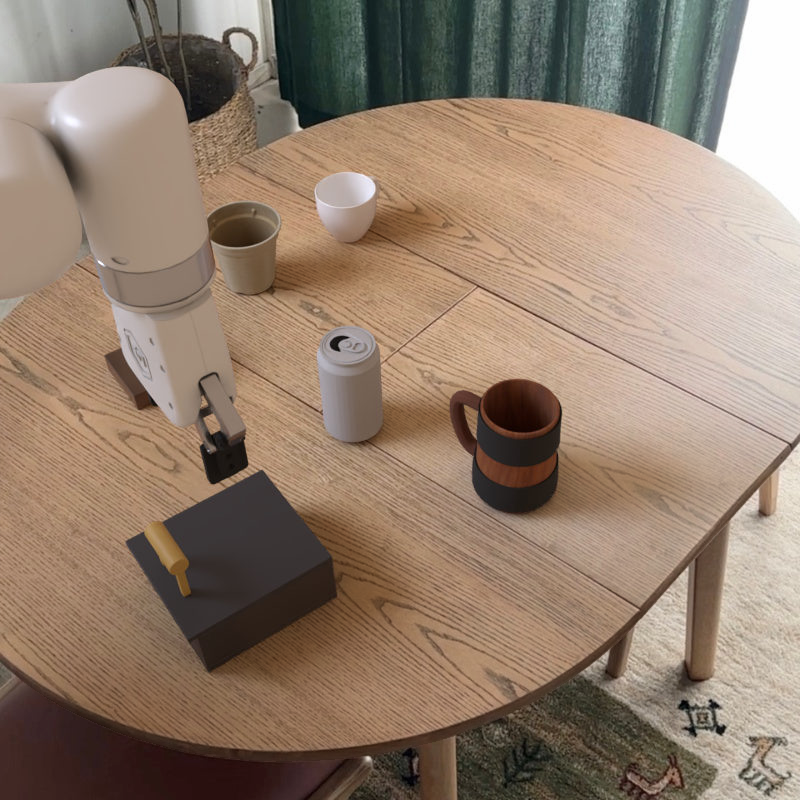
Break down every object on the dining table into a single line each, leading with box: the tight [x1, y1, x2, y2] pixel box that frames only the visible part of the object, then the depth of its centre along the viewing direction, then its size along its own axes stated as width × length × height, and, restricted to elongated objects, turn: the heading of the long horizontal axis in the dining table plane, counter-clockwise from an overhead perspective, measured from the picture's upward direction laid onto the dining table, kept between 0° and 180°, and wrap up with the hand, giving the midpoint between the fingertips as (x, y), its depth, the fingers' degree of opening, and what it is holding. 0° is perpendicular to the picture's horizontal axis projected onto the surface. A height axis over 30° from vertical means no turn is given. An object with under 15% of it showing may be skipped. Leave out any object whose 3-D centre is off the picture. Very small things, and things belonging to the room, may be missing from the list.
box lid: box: [124, 469, 334, 644], centre depth 94 cm, size 14×13×6 cm
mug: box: [448, 378, 563, 515], centre depth 104 cm, size 9×12×12 cm
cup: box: [314, 171, 381, 243], centre depth 136 cm, size 8×10×7 cm
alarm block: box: [103, 347, 152, 411], centre depth 119 cm, size 10×8×4 cm
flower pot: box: [206, 199, 283, 296], centre depth 128 cm, size 9×9×9 cm
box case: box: [189, 560, 338, 673], centre depth 98 cm, size 14×13×6 cm
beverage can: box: [316, 325, 384, 443], centre depth 110 cm, size 6×6×12 cm
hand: (198, 434), depth 81 cm, fingers open, 9 cm apart
